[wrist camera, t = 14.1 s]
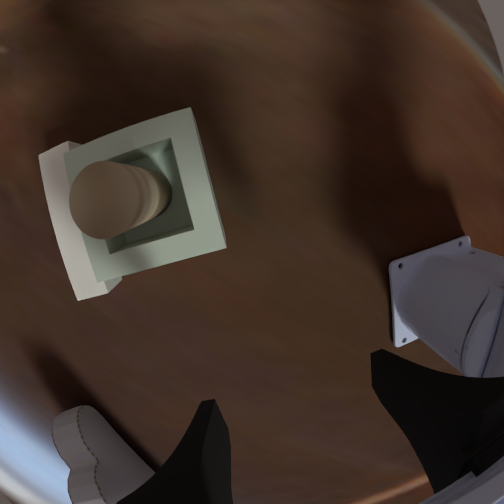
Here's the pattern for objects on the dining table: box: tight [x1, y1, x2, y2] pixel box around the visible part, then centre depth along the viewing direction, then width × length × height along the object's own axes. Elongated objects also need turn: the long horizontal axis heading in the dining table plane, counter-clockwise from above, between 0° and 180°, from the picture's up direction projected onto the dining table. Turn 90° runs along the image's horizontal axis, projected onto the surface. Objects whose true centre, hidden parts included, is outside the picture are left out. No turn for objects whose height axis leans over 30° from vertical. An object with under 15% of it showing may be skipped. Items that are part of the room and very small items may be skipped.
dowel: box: [69, 161, 172, 239], centre depth 15 cm, size 3×3×8 cm
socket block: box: [63, 107, 226, 283], centre depth 17 cm, size 8×8×4 cm
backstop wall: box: [38, 141, 122, 301], centre depth 17 cm, size 2×10×3 cm, turn 14°
